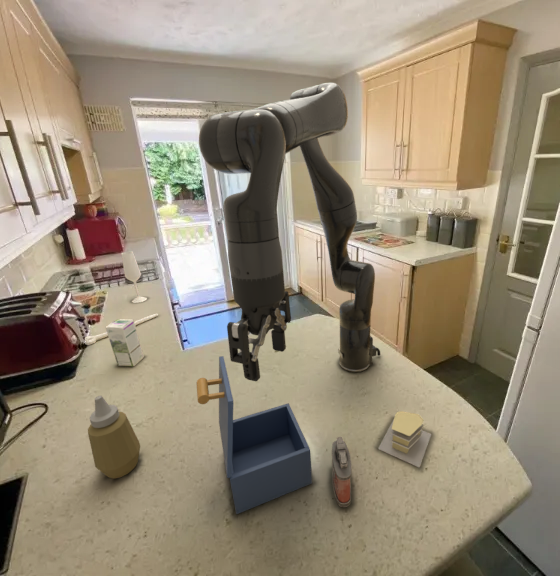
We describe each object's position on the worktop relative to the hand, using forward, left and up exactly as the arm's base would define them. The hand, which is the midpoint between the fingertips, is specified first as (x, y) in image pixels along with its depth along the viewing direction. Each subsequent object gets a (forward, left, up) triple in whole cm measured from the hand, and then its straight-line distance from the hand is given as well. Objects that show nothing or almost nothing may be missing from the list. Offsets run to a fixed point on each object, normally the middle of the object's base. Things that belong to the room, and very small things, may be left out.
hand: (267, 363), depth 51 cm
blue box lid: (+7, -4, -11) cm, 14 cm away
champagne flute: (+38, -121, -28) cm, 130 cm away
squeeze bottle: (+30, -17, -28) cm, 44 cm away
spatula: (+39, -89, -28) cm, 102 cm away
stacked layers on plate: (-28, +2, -28) cm, 40 cm away
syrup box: (+34, -61, -28) cm, 75 cm away
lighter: (-11, +5, -28) cm, 31 cm away
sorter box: (+2, -4, -28) cm, 28 cm away
